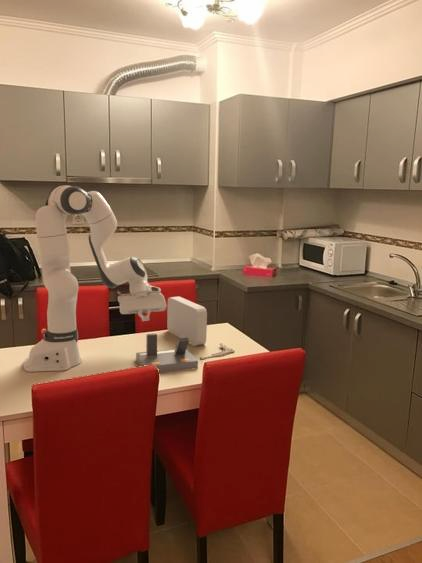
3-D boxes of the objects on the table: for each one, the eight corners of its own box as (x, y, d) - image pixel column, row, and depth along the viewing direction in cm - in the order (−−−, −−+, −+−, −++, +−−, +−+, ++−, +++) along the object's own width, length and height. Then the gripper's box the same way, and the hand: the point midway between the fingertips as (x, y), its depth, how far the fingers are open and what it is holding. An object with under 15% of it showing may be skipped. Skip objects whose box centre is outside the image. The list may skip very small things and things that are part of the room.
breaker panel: (144, 374, 180) (144, 366, 180) (136, 359, 195) (136, 352, 194) (197, 368, 188) (197, 360, 187) (185, 354, 203) (186, 347, 202)
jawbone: (237, 351, 211) (238, 347, 211) (217, 366, 193) (217, 362, 193) (220, 346, 215) (220, 342, 215) (198, 360, 197) (199, 356, 197)
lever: (174, 355, 193) (178, 342, 186) (173, 352, 194) (177, 338, 187) (185, 354, 194) (189, 341, 188) (184, 351, 196) (188, 337, 189)
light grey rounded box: (210, 344, 216) (211, 307, 213) (196, 347, 212) (197, 309, 209) (180, 328, 240) (180, 294, 236) (167, 330, 235) (167, 296, 232)
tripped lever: (146, 358, 188) (146, 335, 186) (145, 356, 190) (145, 334, 188) (157, 357, 190) (157, 334, 188) (156, 355, 191) (156, 333, 189)
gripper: (117, 290, 198) (122, 318, 191) (163, 287, 206) (169, 314, 199) (116, 298, 203) (120, 325, 196) (161, 295, 211) (167, 321, 204)
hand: (145, 320), depth 198 cm, fingers closed
